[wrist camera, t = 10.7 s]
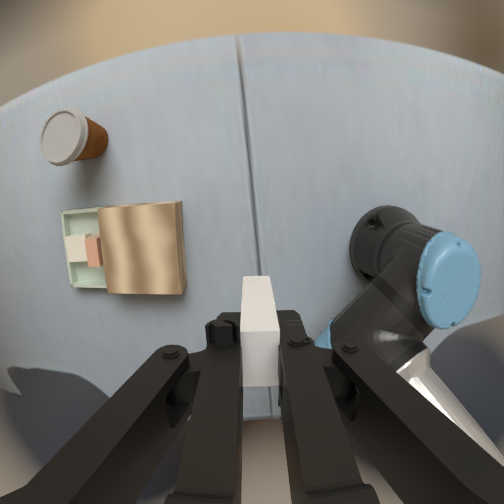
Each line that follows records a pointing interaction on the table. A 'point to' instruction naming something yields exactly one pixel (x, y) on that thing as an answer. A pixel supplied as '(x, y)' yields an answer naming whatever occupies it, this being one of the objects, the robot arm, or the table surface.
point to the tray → (80, 271)
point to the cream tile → (76, 246)
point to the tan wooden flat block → (143, 248)
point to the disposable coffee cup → (71, 137)
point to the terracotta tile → (94, 251)
